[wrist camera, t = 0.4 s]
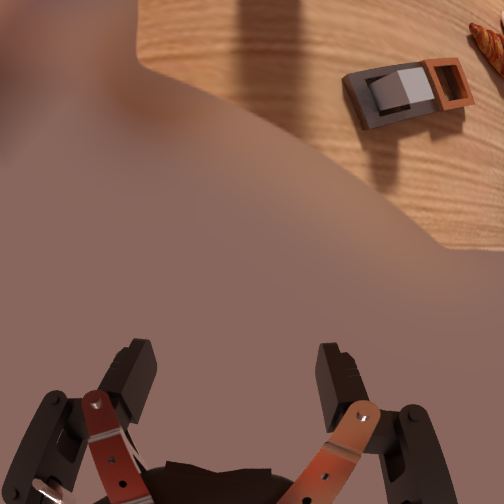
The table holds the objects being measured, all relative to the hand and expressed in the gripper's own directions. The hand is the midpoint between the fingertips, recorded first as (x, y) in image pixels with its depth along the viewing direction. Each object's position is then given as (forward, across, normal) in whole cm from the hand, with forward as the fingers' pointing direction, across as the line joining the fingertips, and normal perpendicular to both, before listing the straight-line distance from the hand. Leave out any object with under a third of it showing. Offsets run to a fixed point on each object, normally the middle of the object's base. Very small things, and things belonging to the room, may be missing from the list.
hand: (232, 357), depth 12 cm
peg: (+28, -19, -18) cm, 38 cm away
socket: (+28, -25, -20) cm, 42 cm away
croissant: (+29, -50, -35) cm, 67 cm away
